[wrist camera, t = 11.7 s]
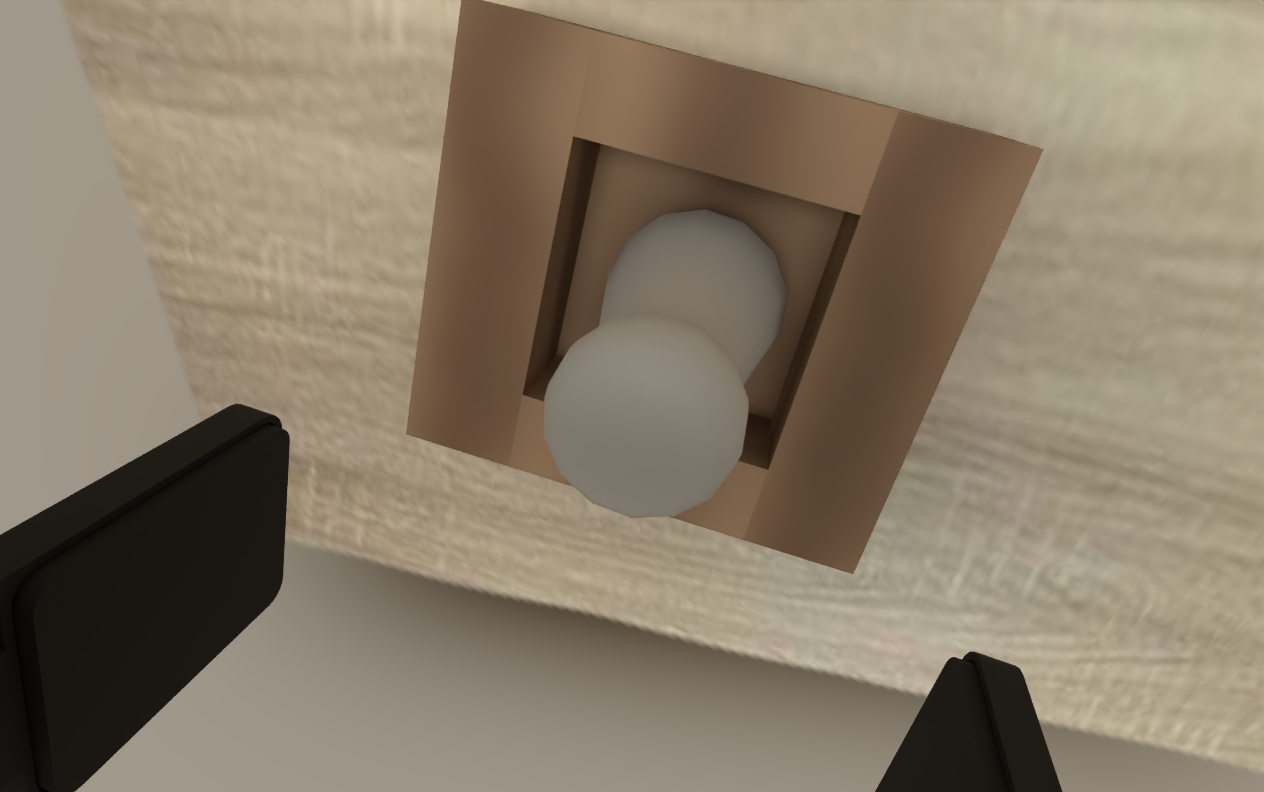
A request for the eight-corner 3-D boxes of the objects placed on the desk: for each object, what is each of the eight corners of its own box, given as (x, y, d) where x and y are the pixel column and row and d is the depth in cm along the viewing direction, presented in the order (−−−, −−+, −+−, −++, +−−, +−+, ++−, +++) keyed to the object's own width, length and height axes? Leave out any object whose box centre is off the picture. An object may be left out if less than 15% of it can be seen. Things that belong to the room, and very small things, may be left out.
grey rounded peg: (726, 389, 28) (680, 614, 17) (593, 307, 28) (450, 476, 16) (820, 255, 26) (844, 408, 14) (675, 164, 26) (576, 242, 14)
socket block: (997, 135, 24) (1043, 149, 20) (843, 498, 30) (852, 574, 26) (520, 9, 26) (461, -5, 21) (461, 382, 32) (406, 434, 27)
